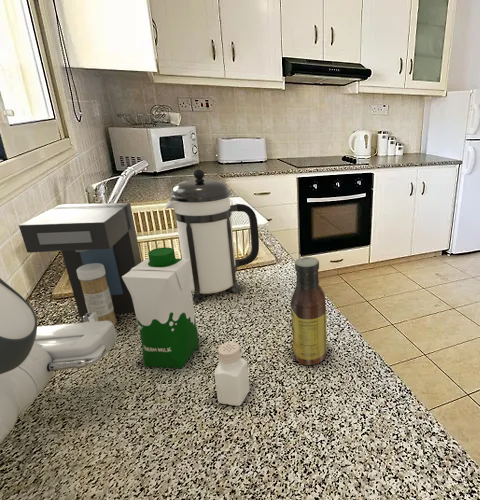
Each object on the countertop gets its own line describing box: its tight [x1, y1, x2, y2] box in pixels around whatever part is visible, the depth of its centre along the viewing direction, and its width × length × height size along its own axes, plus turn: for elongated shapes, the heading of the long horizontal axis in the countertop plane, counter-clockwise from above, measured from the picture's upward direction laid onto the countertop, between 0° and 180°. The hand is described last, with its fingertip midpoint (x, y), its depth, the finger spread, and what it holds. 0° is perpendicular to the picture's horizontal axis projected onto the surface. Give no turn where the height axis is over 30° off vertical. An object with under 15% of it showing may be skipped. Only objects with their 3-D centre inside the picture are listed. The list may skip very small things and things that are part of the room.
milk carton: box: [122, 246, 200, 369], centre depth 66 cm, size 9×9×20 cm
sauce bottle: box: [290, 256, 328, 366], centre depth 66 cm, size 6×6×20 cm
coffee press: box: [164, 168, 260, 304], centre depth 89 cm, size 17×16×30 cm
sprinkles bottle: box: [76, 263, 118, 326], centre depth 76 cm, size 5×5×14 cm
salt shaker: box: [213, 341, 251, 407], centre depth 58 cm, size 4×4×10 cm
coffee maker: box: [18, 202, 143, 318], centre depth 75 cm, size 13×14×24 cm
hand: (61, 318), depth 62 cm, fingers open, 8 cm apart
